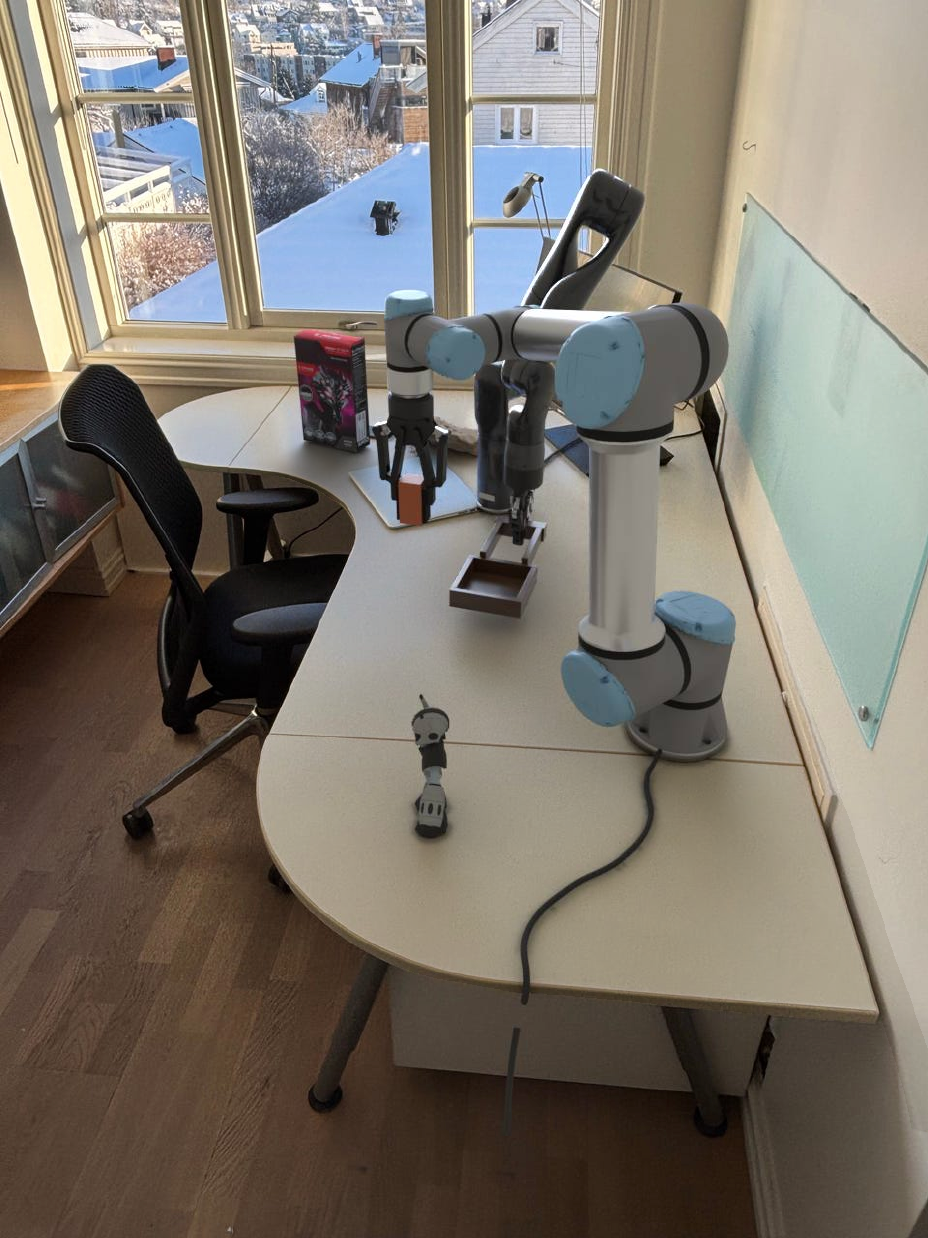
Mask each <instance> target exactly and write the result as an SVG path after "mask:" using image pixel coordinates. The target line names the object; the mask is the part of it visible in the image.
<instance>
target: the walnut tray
mask: <svg viewBox="0 0 928 1238" xmlns="http://www.w3.org/2000/svg"><path fill="white" fill-rule="evenodd" d="M525 526H526V527H525V531H524V540H528V541H529V542H528V544H527V546H526V548H525V549H524V552H523V554H522V556H521V562H518V561H513V560H506V559H500V558H495V557H494V558H493V557H491V556H492V555H493V552H494V551H495V549H496V547H497V545H498V543H499V541H500V540H501V538H502V536H503V537H508V538H512V537H513V530H512V529H510V527H509V519H508V516H503V515H497V517H496V518H495V520H494V526H493V527H492V529H491V531H490V533H489V534H488V537H486V540H485V542H484V543H483V545H482V546H481V549H480V551H479V555H476V554H469V555H468V556H467V559H466V560H465V562H464V564H463V566H462V567H461V569H460V571H459V573H458V574H457V576H456V578H455V579H454V582H453V583H452V585H451V586H450V588H449V593H448V595H449V596H448V597H449V598H448V599H449V600H448V603H449V604H448V606H449V607H450V608H457V609H463V610H468V611H473V612H478V613H485V614H490V615H496V616H497V615H498V616H501V617H502V616H503V617H507V618H513V619H522V616H523V615H524V612H525V609H526V607H527V605H528V602H529V600H530V598H531V595H532V593H533V590H534V589H535V586H536V584H537V582H538V567H539V566H538V564H533V561H534V559H535V557H536V554H537V552H538V550H539V548H540V546H541V543H544V541H545V539H546V537H547V529H548V523H547V522H542V521H537V520H536V521H535V520H530V519H529V520H526V522H525Z"/></svg>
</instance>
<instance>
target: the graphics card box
mask: <svg viewBox="0 0 928 1238" xmlns="http://www.w3.org/2000/svg"><path fill="white" fill-rule="evenodd" d="M293 344H294V352H295V353H294V354H295V365H296V375H297V385H298V386H297V387H298V395H299V407H300V418H301V427H302V439H303V441H305V442H308V443H314V444H318V445H322V446H327V447H331V448H336V449H340V450H344V451H348V452H354V453H359V452H360V451H361V450H363V449H365V448H367V447H369V446H370V445H371V433H370V412H369V399H368V380H367V378H368V377H367V376H368V375H367V359H366V357H367V356H366V339H365V337H358V336H352V335H346V334H342V333H336V332H330V331H325V330H319V329H313V328H305V329H303V330H301V331H299V332H297V333H295V335H294V336H293Z"/></svg>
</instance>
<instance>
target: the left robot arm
mask: <svg viewBox="0 0 928 1238" xmlns="http://www.w3.org/2000/svg"><path fill="white" fill-rule="evenodd" d="M645 203H646V196H645V193H644V192H643V191H642V190H641V189H639V188H638V187H636V186H634V185H632V184H630V183H629V182H627V181H625V180H624V179H622V178H621V177H618V176H617V175H615V174H613V173H611V172H610V171H608V170H606V169H603V168H595V169H594V170H593V171H591V173H590V174H589V176H587V178H586V180H585V181H584V183H583V184H582V186H581V188H580V190H579V192H578V194H577V196H576V198H575V200H574V202H573V205H572V206H571V209H570V211H569V213H568V215H567V217H566V220H565V221H564V223H563V225H562V227H561V229H560V232H559V234H558V236H557V238H556V240H555V242H554V244H553V246H552V248H551V250H550V251H549V253H548V255H547V257H546V258H545V260H544V261H543V263H542V264H541V266H540V268H539V270H538V272H537V273H536V275H535V277H534V279H533V280H532V282H531V283H530V285H529V288H528V289H527V291H526V292H525V295H524V297H523V299H522V301H521V304H520V306H522V305H537V306H540V307H541V308H542V309H544V310H576V311H585V310H584V309H585V308H586V306H587V305H588V303H589V301H590V299H591V297H592V296H593V294H594V292H595V291H596V289H597V288H598V287H599V285H600V283H601V282H602V281H603V280H604V278H605V276H606V274H607V273H608V271H609V269H610V268H611V267H612V265H613V264H614V262H615V260H616V259H617V257H618V256H619V253H620V252H621V251H622V249H623V247H624V245H625V244H626V242H627V241H628V239H629V237H630V235H631V234H632V232H633V230H635V228H636V225H637V223H638V221H639V219H640V217H641V216H642V213H643V210H644V207H645ZM583 227H586V228H588V229H589V230H591V231H593V232H595V233H596V234H598V235H600V236H602V237H604V238H605V241H604V243H603V245H602V246H601V248H600V249H599V250H598V252H596V254H595V255H594V256H593V257H591V259H589V260H588V261H586V262H585V263H584V264H582V265H580V263H579V247H580V245H579V244H580V237H581V231H582V228H583ZM555 370H556V366H555V365H554V363H551V362H542V361H533V360H520V359H510V360H505V361H500V362H495V363H491V364H487V365H483V366H481V368H480V369H479V371H478V372H476V373H475V374H474V375H473V414H474V420H475V422H476V425H477V430H478V456H477V462H476V463H477V465H476V466H477V467H476V470H477V471H476V478H477V479H476V499H477V501H478V502H479V503H480V504H481V505H482V506H481V507H480V506H479V505H478V504H477V502H476V501H475V504H476V507H477V508H478V509H479V510H480V511H482V512H484V513H489V514H495V515H503V514H507V517H508V519H509V527H510V529H512V530H513V537H511V538H512V539H511V541H512V542H511V543H512V545H514V546H519V547H520V546H523V545H524V543H525V539H524V531H525V527H526V526H525V522H526V520H530V519H531V514H532V512H533V507H534V498H535V494H536V493H535V492H536V490H537V489H539V488H540V487H542V485H543V482H544V471H545V470H544V469H545V464H546V463H547V462H549V461H550V460H551V459H552V458H553V457H555V456H556V455H558V453H560V452H562V451H563V450H564V449H566V448H567V447H569V446H571V445H572V444H574V443H575V442H578V441H580V440H582V439H581V438H580V437H579V436H578V437H576V438H574V439H572V440H570V441H569V442H566V444H564V445H562V446H560V447H559V448H558V449H556V450H554V452H552V453H551V454H550V455H549V456H547V457H546V456H545V454H546V445H545V435H546V434H545V433H546V420H547V416H548V413H549V411H550V408H551V405H552V402H553V399H554V397H555V395H556V388H555ZM523 396H524V397H525V400H524V403H517V404H514V405H513V406H512V407H510V409H509V403H510V402H512V401H514V400H517V399H519V398H521V397H523ZM545 457H546V458H545Z"/></svg>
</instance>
